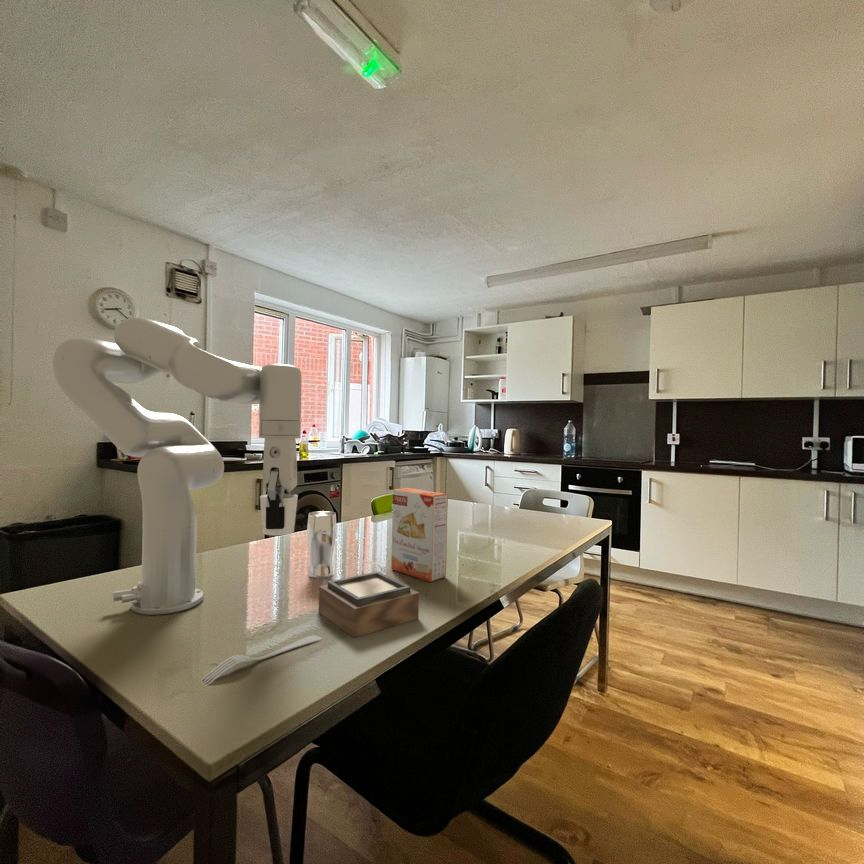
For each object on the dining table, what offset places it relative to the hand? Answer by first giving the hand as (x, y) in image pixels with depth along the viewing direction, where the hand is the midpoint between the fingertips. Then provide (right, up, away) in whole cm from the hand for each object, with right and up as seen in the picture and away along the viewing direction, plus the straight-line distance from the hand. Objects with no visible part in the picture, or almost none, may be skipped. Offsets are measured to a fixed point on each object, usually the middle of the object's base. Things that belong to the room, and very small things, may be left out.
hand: (278, 523), depth 89 cm
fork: (+3, -19, -15) cm, 24 cm away
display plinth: (+17, -18, +2) cm, 25 cm away
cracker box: (+26, -18, +28) cm, 42 cm away
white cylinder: (0, -2, 0) cm, 2 cm away
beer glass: (+2, -18, +26) cm, 32 cm away
